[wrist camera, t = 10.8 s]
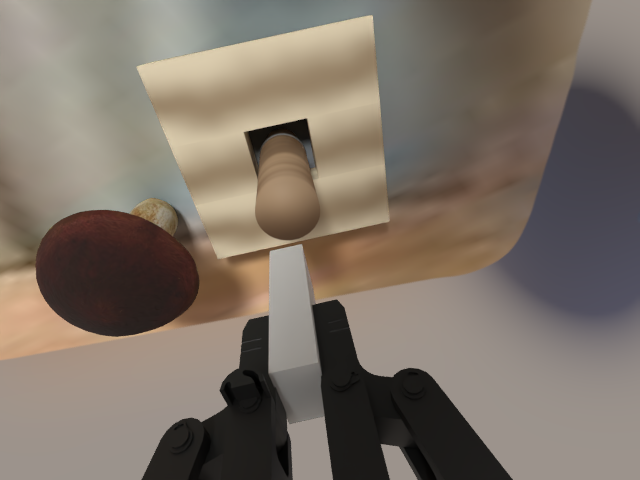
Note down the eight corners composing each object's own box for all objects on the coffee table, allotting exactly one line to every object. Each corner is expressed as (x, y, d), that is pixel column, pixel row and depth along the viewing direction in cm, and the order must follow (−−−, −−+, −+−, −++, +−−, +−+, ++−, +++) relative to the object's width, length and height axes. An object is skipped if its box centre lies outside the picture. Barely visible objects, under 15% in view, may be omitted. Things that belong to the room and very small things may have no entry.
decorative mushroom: (134, 135, 31) (38, 210, 18) (237, 204, 36) (218, 302, 23) (81, 220, 34) (-30, 332, 22) (181, 272, 39) (137, 390, 26)
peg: (255, 129, 32) (245, 189, 20) (298, 120, 32) (314, 174, 20) (267, 170, 34) (264, 246, 22) (307, 162, 34) (326, 233, 22)
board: (148, 63, 28) (136, 66, 26) (363, 16, 28) (372, 15, 26) (221, 243, 38) (218, 259, 35) (381, 208, 38) (389, 221, 35)
